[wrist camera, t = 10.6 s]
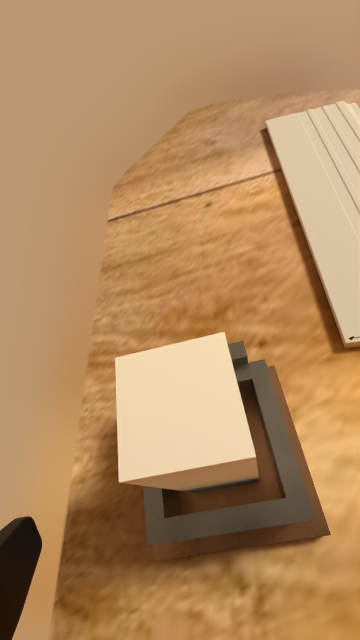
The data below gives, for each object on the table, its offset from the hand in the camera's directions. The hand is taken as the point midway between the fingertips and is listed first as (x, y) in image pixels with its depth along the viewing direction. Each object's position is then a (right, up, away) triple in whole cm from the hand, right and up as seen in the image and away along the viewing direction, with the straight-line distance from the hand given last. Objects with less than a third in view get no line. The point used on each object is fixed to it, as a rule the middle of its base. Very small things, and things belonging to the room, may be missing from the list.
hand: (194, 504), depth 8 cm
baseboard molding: (+17, +16, +22) cm, 32 cm away
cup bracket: (+2, -4, +13) cm, 14 cm away
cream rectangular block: (+2, -4, +12) cm, 13 cm away
